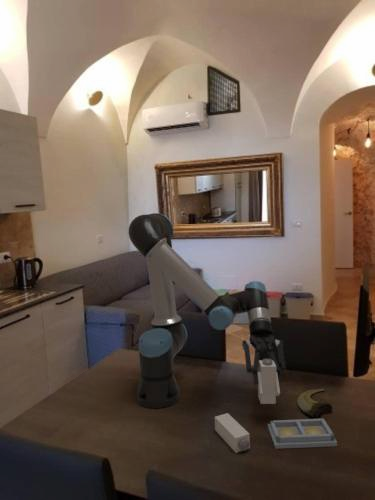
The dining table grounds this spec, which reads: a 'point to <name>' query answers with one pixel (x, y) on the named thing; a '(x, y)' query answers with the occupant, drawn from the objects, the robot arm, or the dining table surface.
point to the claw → (313, 404)
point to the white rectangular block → (232, 432)
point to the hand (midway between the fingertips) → (269, 394)
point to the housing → (301, 433)
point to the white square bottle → (268, 381)
